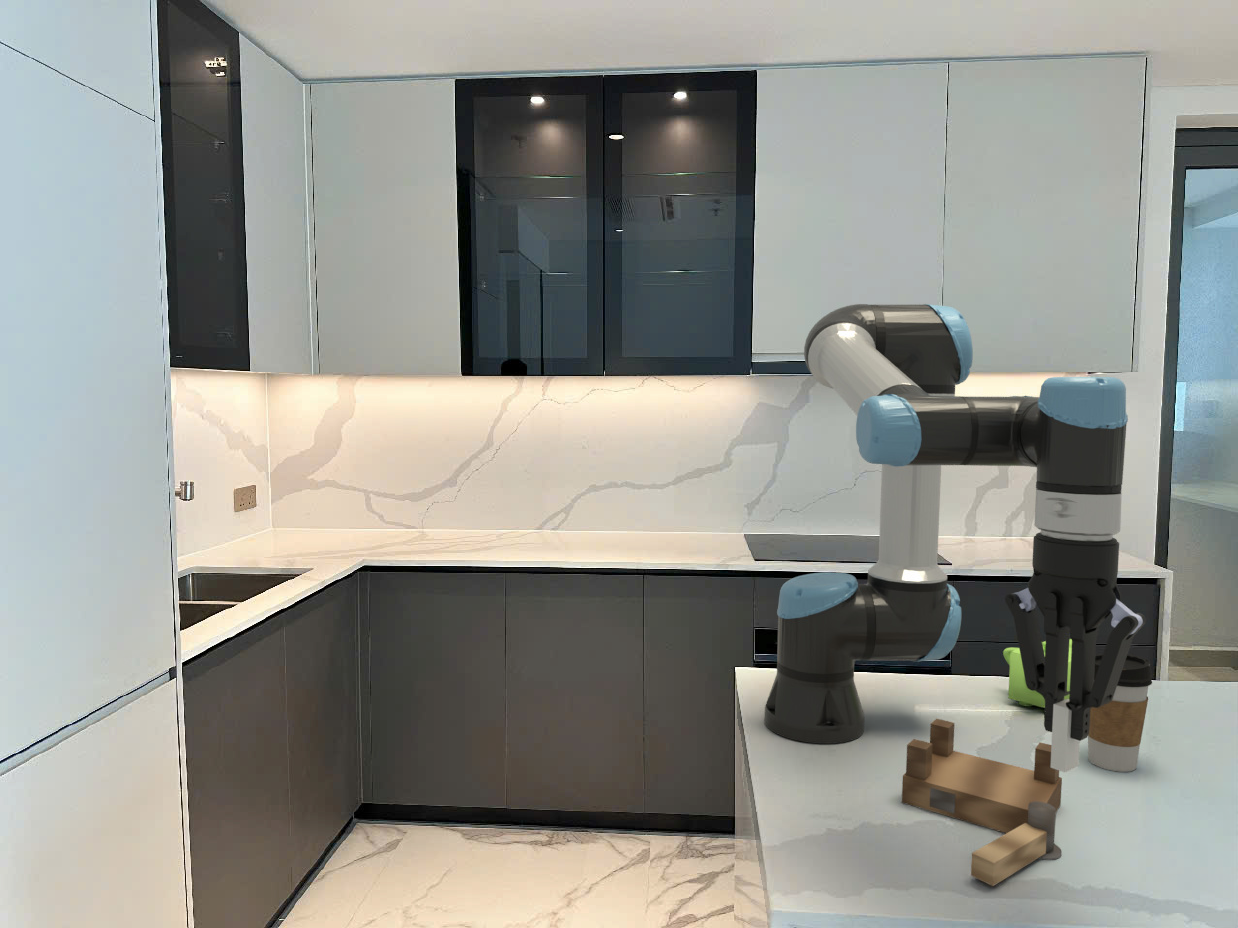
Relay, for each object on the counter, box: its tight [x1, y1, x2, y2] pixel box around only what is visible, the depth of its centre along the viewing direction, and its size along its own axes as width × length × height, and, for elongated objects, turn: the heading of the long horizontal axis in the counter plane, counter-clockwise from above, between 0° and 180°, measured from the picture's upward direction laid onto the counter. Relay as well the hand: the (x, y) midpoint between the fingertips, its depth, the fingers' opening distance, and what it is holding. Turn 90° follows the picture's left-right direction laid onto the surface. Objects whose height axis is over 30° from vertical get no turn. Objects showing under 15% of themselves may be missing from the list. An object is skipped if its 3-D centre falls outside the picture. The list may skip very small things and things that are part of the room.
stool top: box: [901, 718, 1063, 861], centre depth 109 cm, size 19×16×8 cm
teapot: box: [1002, 638, 1072, 709], centre depth 147 cm, size 15×13×11 cm
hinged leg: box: [970, 801, 1057, 887], centre depth 97 cm, size 14×3×4 cm, turn 128°
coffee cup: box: [1087, 653, 1153, 773], centre depth 124 cm, size 8×8×15 cm
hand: (1064, 766), depth 89 cm, fingers closed
